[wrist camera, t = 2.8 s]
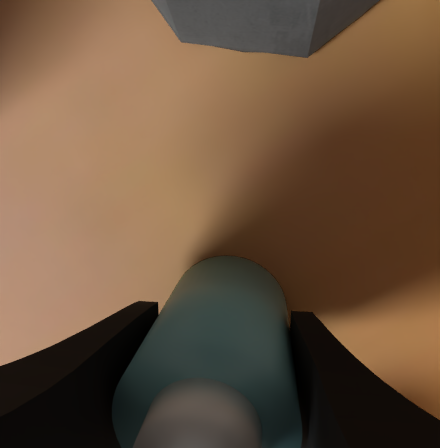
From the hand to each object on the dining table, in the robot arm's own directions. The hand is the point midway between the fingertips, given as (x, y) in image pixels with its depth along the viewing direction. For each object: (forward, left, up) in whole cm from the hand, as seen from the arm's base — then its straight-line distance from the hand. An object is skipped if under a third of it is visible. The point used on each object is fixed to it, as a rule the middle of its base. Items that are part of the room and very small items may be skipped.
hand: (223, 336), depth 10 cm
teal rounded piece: (0, 0, -2) cm, 2 cm away
